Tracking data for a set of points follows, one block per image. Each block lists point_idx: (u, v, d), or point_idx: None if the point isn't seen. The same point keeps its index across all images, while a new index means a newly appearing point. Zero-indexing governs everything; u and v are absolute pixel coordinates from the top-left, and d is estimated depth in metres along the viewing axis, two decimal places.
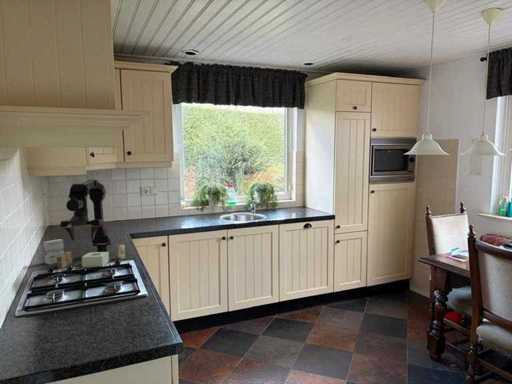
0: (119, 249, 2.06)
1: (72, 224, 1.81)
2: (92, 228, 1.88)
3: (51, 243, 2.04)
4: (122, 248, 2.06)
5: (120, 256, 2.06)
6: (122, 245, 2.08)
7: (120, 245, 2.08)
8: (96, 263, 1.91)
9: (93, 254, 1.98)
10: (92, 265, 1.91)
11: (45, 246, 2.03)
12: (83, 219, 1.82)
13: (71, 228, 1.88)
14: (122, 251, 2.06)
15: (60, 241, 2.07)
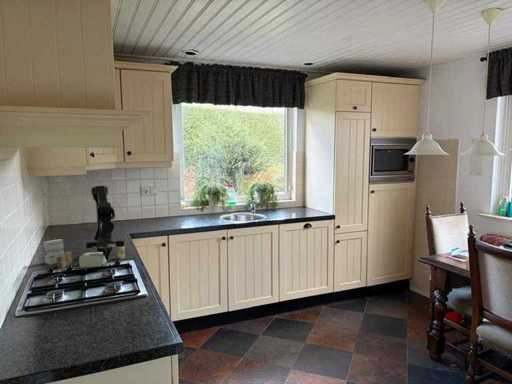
0: (119, 249, 2.06)
1: (98, 245, 1.88)
2: (108, 249, 1.94)
3: (51, 243, 2.03)
4: (122, 248, 2.06)
5: (120, 256, 2.06)
6: None
7: None
8: (94, 263, 1.91)
9: (91, 254, 1.98)
10: (90, 265, 1.91)
11: (45, 246, 2.03)
12: (109, 241, 1.88)
13: (105, 248, 1.95)
14: (122, 251, 2.06)
15: (60, 241, 2.07)
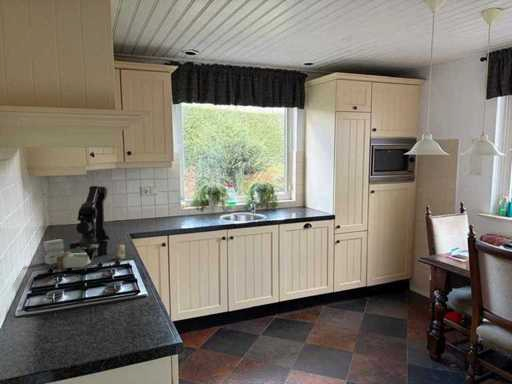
0: (119, 249, 2.06)
1: (81, 246, 1.87)
2: (91, 249, 1.93)
3: (51, 243, 2.04)
4: (122, 248, 2.06)
5: (120, 256, 2.06)
6: (122, 245, 2.08)
7: (120, 245, 2.08)
8: (77, 264, 1.90)
9: (75, 255, 1.97)
10: (73, 266, 1.90)
11: (45, 246, 2.03)
12: (91, 241, 1.88)
13: (88, 249, 1.94)
14: (122, 251, 2.06)
15: (60, 241, 2.07)
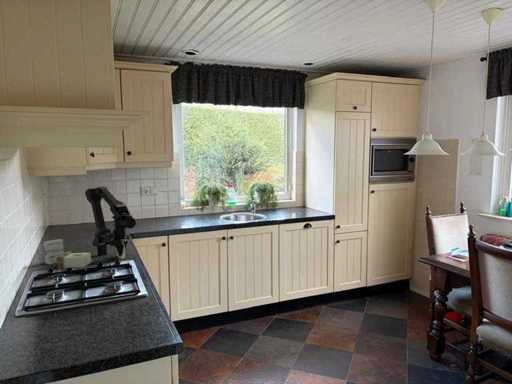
0: None
1: None
2: None
3: (51, 243, 2.04)
4: None
5: (120, 256, 2.06)
6: None
7: None
8: (77, 264, 1.90)
9: (75, 255, 1.97)
10: (73, 266, 1.90)
11: (45, 246, 2.03)
12: None
13: None
14: None
15: (60, 241, 2.07)
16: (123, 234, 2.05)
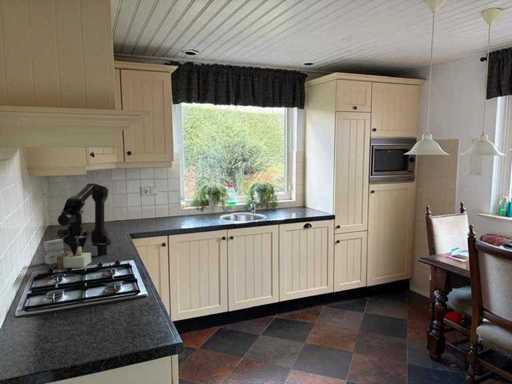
0: None
1: None
2: None
3: (51, 243, 2.04)
4: (78, 250, 1.93)
5: None
6: (79, 247, 1.95)
7: None
8: (77, 264, 1.90)
9: None
10: (73, 266, 1.90)
11: (45, 246, 2.03)
12: None
13: (78, 239, 1.99)
14: (78, 253, 1.93)
15: (60, 241, 2.07)
16: (79, 230, 1.92)
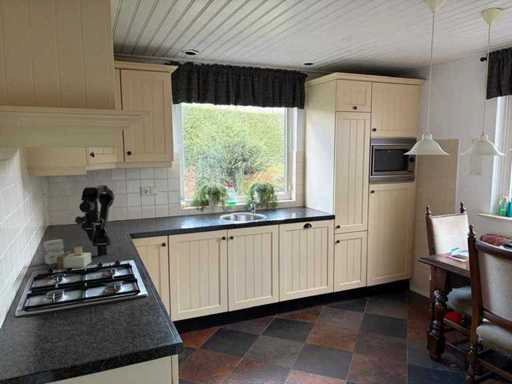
0: (75, 251, 1.93)
1: None
2: None
3: (51, 243, 2.04)
4: (79, 250, 1.93)
5: None
6: (79, 247, 1.95)
7: (77, 247, 1.95)
8: (77, 264, 1.90)
9: None
10: (73, 266, 1.90)
11: (45, 246, 2.03)
12: None
13: (95, 226, 2.11)
14: (79, 253, 1.93)
15: (60, 241, 2.07)
16: (95, 217, 2.04)
